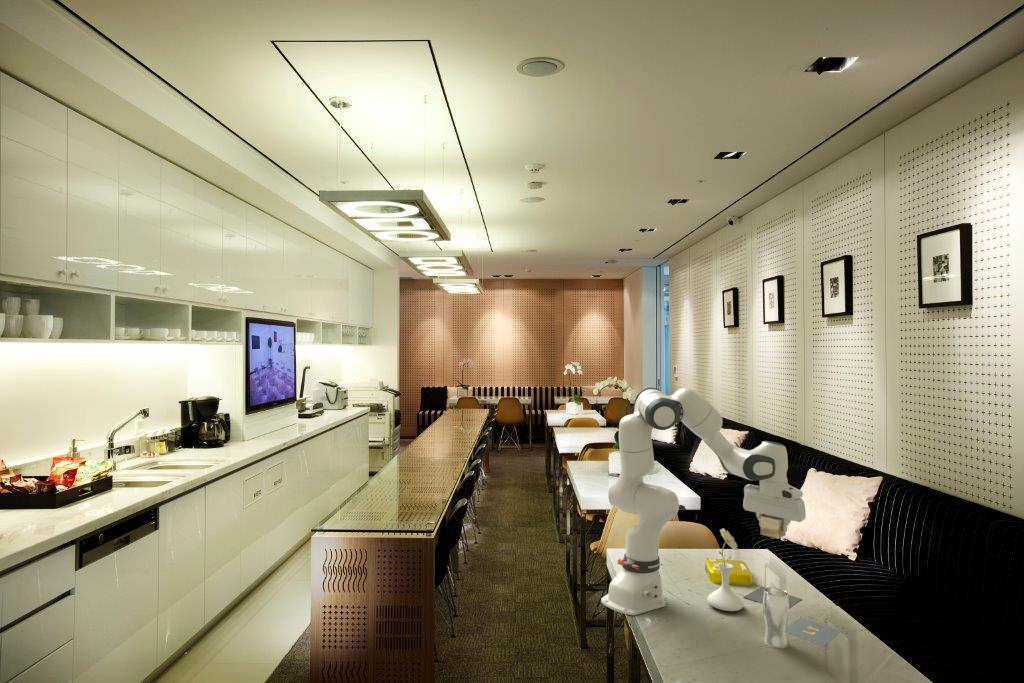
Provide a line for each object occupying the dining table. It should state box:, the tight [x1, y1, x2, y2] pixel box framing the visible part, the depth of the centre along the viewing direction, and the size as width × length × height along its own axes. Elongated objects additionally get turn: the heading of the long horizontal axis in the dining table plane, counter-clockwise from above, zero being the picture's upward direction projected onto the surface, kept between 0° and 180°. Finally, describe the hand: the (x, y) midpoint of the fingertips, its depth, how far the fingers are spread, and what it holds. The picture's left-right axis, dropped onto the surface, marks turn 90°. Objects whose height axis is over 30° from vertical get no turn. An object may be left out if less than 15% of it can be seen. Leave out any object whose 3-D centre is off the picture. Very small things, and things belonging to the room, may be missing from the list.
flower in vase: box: [706, 528, 745, 612], centre depth 192 cm, size 13×11×25 cm
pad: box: [743, 585, 803, 609], centre depth 197 cm, size 14×14×1 cm
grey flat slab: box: [786, 616, 842, 647], centre depth 175 cm, size 14×12×1 cm
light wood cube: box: [760, 514, 787, 539], centre depth 198 cm, size 6×6×6 cm
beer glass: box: [762, 586, 790, 649], centre depth 167 cm, size 7×7×15 cm
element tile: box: [704, 557, 753, 587], centre depth 217 cm, size 15×15×5 cm
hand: (773, 528), depth 198 cm, fingers closed on light wood cube, 6 cm apart
